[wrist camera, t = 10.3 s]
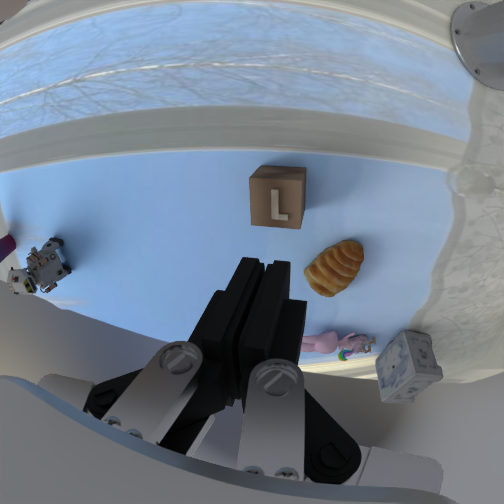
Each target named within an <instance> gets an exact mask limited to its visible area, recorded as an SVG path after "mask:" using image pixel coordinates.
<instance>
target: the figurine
mask: <svg viewBox="0 0 504 504" xmlns="http://www.w3.org/2000/svg"><path fill="white" fill-rule="evenodd" d="M61 246H63V241H62V240H60V239H56V238H54V237H53V238H52V237H51V238H50V239H49V241H48V242H46V243H45V244H44V245H43V247H42V250H40V251H38V252H37V249H36V248H35V246H34V247H33V248H31V255H30V256H29V257H27V258H26V260H27V265H28V267H27V268H24V269H19V270H13V267H11V270H10V271H9V273H8V279H7V284H8V286H9V288H10V290H11V291H12V292H14V294H19V293H20V294H30V295H33V293H36V291H37V287H36V284H37V285H39V286H40V290H41V288H42V289H44V288H46V287H47V286H48V285H49V287H48V288H47V289H45V292H46V293H48V292H50V291H51V290H52V289H54V288H55V287H57V283H56V282H57V281H59V280H61V279H63V278H64V277H65V276H67V275H69V274H70V273H72V272H71V268H70V267H68V266H66V267H65V265H62V264H61V261H60V258H59V256H58V255H57V253H56V251H55V250H56V249H57V248H59V247H61ZM29 254H30V253H29ZM29 254H28V255H29ZM27 269H28V271H29V272H27V271H26V270H27ZM53 282H54V283H53ZM41 291H42V290H41ZM42 292H43V291H42ZM45 292H43V293H45Z"/></svg>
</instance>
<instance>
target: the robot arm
mask: <svg viewBox="0 0 504 504" xmlns="http://www.w3.org/2000/svg"><path fill="white" fill-rule="evenodd" d="M455 32H456V33H457V34H456V33H455ZM450 35H451V40H452V43H453V46H454V49H455V51H456V53H457V55H458V57H459V59H460V61H461V62H462V64H463V65H464V67H465V68H466V69H467V70H468V72H469V73H470V74H471V75H472V76H473V77H474V78H475V79H476V80H478V81H479V82H481V83H482V84H484V85H485V86H487V87H490V88H492V89H496V90H504V0H502V1H500V2H497V3H495V4H492V5H490V6H489V5H487V4H484V3H481V2H467V3H465V4H462V5H461V6H459V7H458V8H457V9H456V10H455V11H454V12H453V15H452V17H451V22H450ZM475 71H476V73H475ZM289 291H290V262H288V261H278V260H274V263H273V264H268V265H267V268H266V270H265V266H264V263H260V262H259V259H258V258H248V257H243V258H242V259H241V261H240V263H239V265H238V267H237V269H236V271H235V273H234V275H233V276H232V278H231V280H230V282H229V284H228V286H227V288H226V290H225V291H222V290H217V291H216V292H215V293H214V295H213V296H212V298H211V300H210V302H209V304H208V305H207V307H206V309H205V311H204V313H203V314H202V316H201V318H200V320H199V322H198V323H197V325H196V327H195V329H194V331H193V332H192V334H191V336H190V338H189V340H188V341H187V342H186V341H175V342H171V343H169V344H167V345H165V346H163V347H162V348H161V349H160V350H159V351H158V352H157V353H156V354H155V355H154V356H153V358H152V359H151V360H150V361H149V362H148V364H147V365H146V366H145V367H144V368H142V369H140V370H137V371H134V372H131V373H128V374H125V375H122V376H120V377H117V378H114V379H111V380H108V381H105V382H102V383H100V384H98V385H95V383H94V382H92V381H86V380H81V379H76V378H72V377H67V376H62V375H58V374H48V375H45V376H44V377H43V378H41V380H40V381H39V382H38V384H37V385H36V384H34V383H32V382H30V381H28V380H26V379H23V378H19V377H14V376H7V375H0V504H459V503H457V502H456V501H454V500H452V499H450V498H448V497H446V496H443V495H440V494H439V493H440V489H441V484H442V481H443V470H442V467H441V465H440V464H439V463H438V462H437V461H436V460H435V459H432V458H429V457H423V456H417V455H412V454H406V453H400V452H396V451H391V450H387V449H382V448H378V447H374V446H372V447H371V448H367V447H363V446H359V445H358V444H357V443H356V442H355V440H354V439H352V437H351V436H349V434H348V433H347V432H346V431H345V430H344V429H343V428H342V427H341V426H340V425H339V424H338V423H337V422H336V421H335V420H334V419H333V418H332V417H331V416H330V415H329V414H328V413H327V412H326V411H325V410H324V409H323V408H322V406H320V404H319V403H318V402H317V401H316V400H315V399H314V398H313V397H312V396H311V395H310V394H309V393H308V392H307V390H306V389H305V388H304V375H303V372H302V371H301V369H300V368H299V367H298V361H299V356H300V350H301V345H302V339H303V333H304V326H305V318H306V309H307V301H302V300H293V299H289ZM240 398H241V400H242V407H243V413H244V420H243V427H242V434H241V441H240V448H239V454H238V461H237V468H236V470H235V469H231V468H227V467H223V466H220V465H216V464H212V463H209V462H205V461H202V460H198V459H195V458H192V456H193V454H194V453H195V451H196V449H197V448H198V446H199V445H200V443H201V441H202V439H203V438H204V436H205V435H206V433H207V431H208V430H209V428H210V427H211V425H212V423H213V422H214V420H215V418H216V415H217V412H219V411H221V410H224V409H225V406H226V405H227V406H233V404H234V401H235V399H238V400H239V399H240Z"/></svg>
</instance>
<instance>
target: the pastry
mask: <svg viewBox="0 0 504 504" xmlns="http://www.w3.org/2000/svg"><path fill="white" fill-rule="evenodd" d="M363 260H364V254H363V247H362V245H361V244H360V243H358V242H356V241H352V240H345V241H341V242H340V243H338V244H336V245H333V246H331V247H330V248H327V249H325V250H324V251H323V252H321V253H320V254H319V255H318V256H317V258H315V259H314V260H313V261H312V262H311V263H310V265H309V266H308V267H306V268H305V269H304V275H305V277H306V280H307V281H308V282H309V285H310V287H311V288H312V289H313V290H314V291H316V292H317V293H318V294H320V295H322V296H325V297H333V296H335V294H337V293H339V292H341V291H342V290H344V289H345V288H347V286H348V285H349V284H350V283H351V282H352V281H353V280H354V278H355V277H356V275H357V273H358V271H359V269H360V265H361V263H362V261H363Z"/></svg>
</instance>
